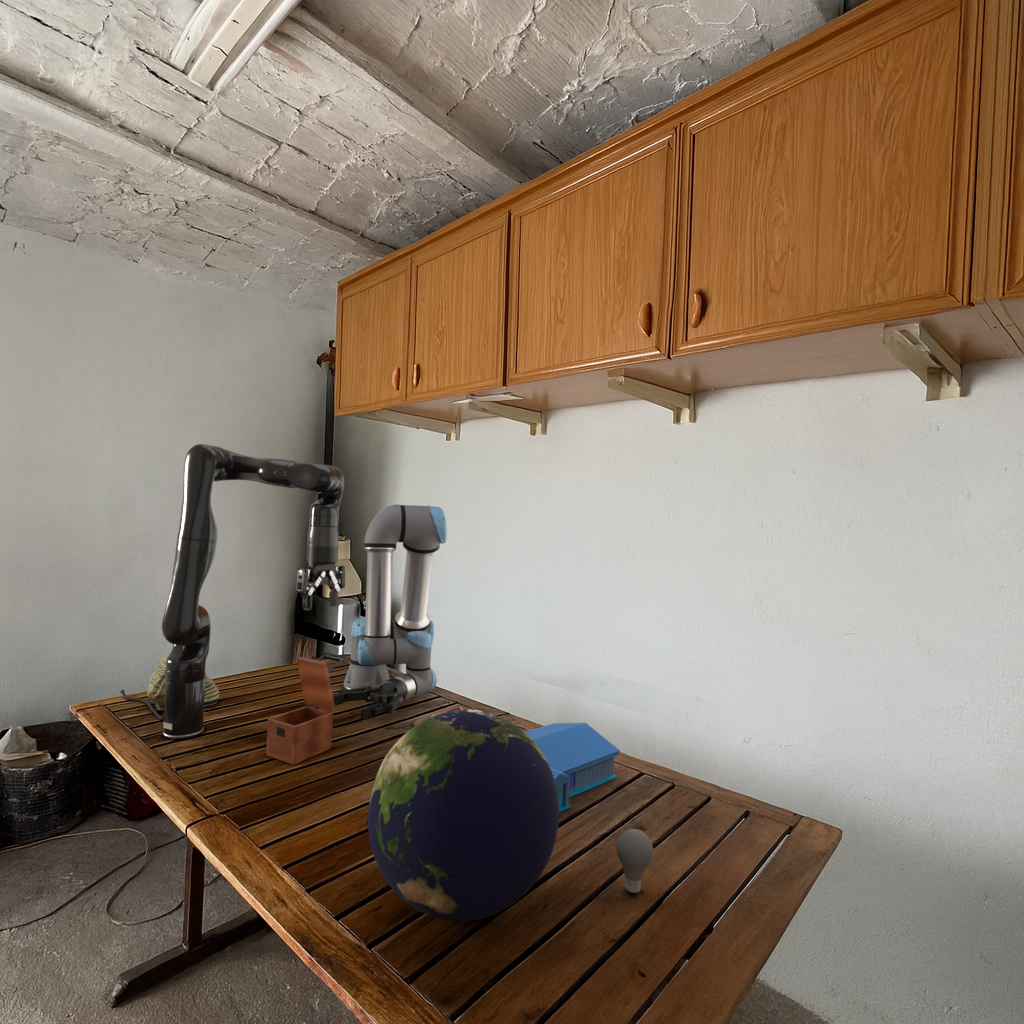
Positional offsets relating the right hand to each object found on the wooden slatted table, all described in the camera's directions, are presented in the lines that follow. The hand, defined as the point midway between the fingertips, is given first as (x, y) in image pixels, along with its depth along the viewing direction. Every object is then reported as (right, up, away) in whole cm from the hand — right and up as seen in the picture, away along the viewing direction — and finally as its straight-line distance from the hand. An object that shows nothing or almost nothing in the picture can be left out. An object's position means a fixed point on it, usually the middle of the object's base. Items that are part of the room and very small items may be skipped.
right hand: (343, 709), depth 169 cm
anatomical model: (+24, -8, +10) cm, 27 cm away
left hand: (-3, +28, -9) cm, 30 cm away
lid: (-5, +9, -10) cm, 14 cm away
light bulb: (+65, -11, -63) cm, 92 cm away
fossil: (-51, -4, +16) cm, 53 cm away
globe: (+37, -10, -69) cm, 78 cm away
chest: (-7, -7, -13) cm, 16 cm away
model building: (+49, -9, -26) cm, 57 cm away
